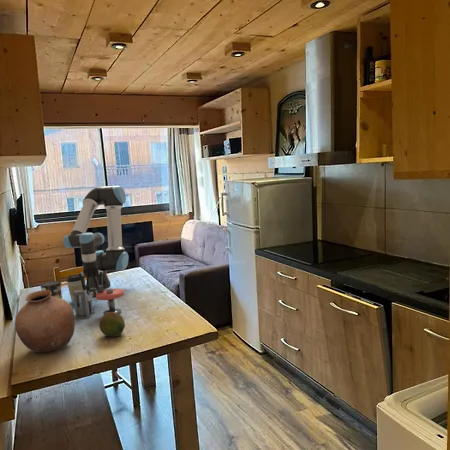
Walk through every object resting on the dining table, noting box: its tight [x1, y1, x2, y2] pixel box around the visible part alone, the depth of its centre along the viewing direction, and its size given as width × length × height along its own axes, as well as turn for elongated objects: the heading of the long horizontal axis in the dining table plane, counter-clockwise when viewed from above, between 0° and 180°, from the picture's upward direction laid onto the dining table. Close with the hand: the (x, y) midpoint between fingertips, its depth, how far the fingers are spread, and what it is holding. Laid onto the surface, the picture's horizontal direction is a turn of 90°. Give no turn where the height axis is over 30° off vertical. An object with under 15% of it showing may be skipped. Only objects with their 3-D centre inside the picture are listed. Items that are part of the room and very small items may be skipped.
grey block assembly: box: [73, 290, 95, 320], centre depth 212 cm, size 12×9×13 cm
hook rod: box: [80, 287, 97, 303], centre depth 221 cm, size 18×3×7 cm, turn 0°
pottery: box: [14, 290, 76, 353], centre depth 171 cm, size 23×23×25 cm
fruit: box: [98, 312, 126, 338], centre depth 182 cm, size 12×13×10 cm
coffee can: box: [40, 280, 63, 299], centre depth 228 cm, size 10×10×14 cm
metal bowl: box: [103, 299, 122, 316], centre depth 211 cm, size 9×9×9 cm
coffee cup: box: [66, 274, 83, 303], centre depth 237 cm, size 9×9×15 cm
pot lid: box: [95, 285, 125, 301], centre depth 210 cm, size 14×14×5 cm
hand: (94, 301), depth 229 cm, fingers closed on hook rod, 3 cm apart
